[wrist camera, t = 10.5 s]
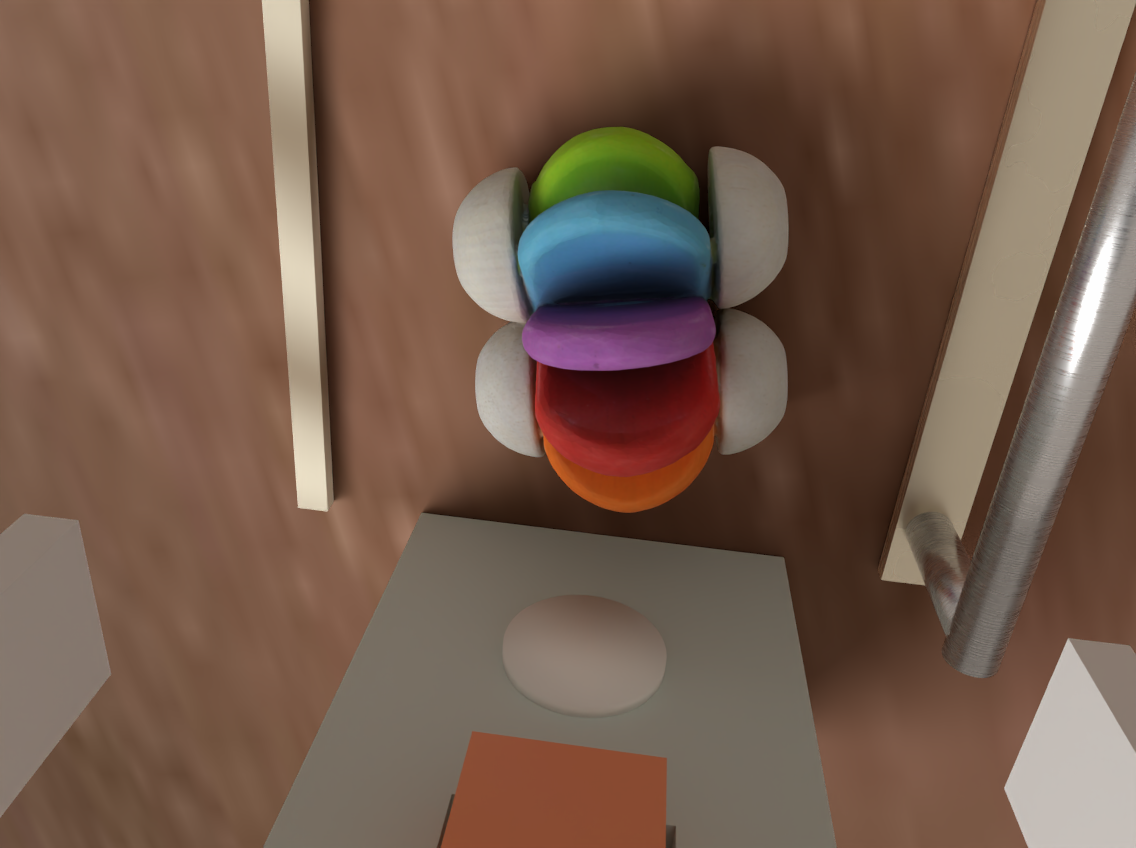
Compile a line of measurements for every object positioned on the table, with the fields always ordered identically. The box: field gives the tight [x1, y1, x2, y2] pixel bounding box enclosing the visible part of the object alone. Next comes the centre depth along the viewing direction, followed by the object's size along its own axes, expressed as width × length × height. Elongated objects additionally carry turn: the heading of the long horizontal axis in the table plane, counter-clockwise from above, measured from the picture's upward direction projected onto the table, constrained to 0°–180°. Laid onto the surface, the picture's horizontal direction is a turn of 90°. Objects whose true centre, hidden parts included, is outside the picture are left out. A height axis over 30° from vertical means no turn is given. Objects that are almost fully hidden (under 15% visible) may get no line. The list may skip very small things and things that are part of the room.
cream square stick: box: [262, 0, 334, 511], centre depth 24 cm, size 25×1×1 cm, turn 176°
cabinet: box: [263, 513, 837, 848], centre depth 24 cm, size 8×12×16 cm
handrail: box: [878, 0, 1136, 678], centre depth 21 cm, size 25×2×6 cm, turn 176°
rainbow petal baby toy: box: [453, 127, 789, 513], centre depth 23 cm, size 8×10×7 cm
